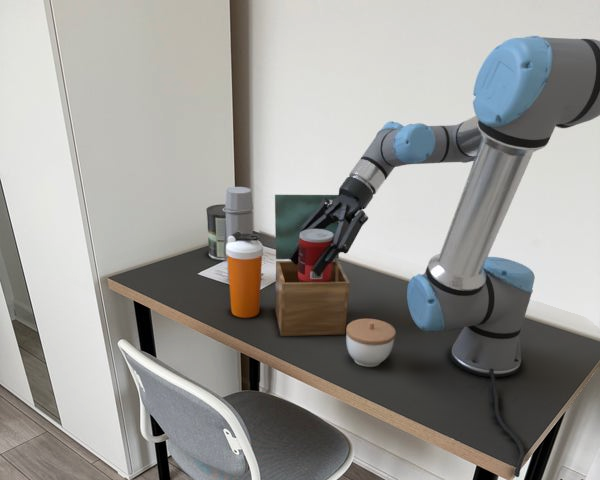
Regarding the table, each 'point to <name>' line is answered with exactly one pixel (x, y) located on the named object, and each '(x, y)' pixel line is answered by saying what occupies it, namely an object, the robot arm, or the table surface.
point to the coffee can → (216, 231)
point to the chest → (310, 302)
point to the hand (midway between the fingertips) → (303, 267)
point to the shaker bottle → (244, 273)
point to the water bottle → (238, 213)
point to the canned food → (313, 254)
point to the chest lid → (295, 220)
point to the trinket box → (369, 341)
